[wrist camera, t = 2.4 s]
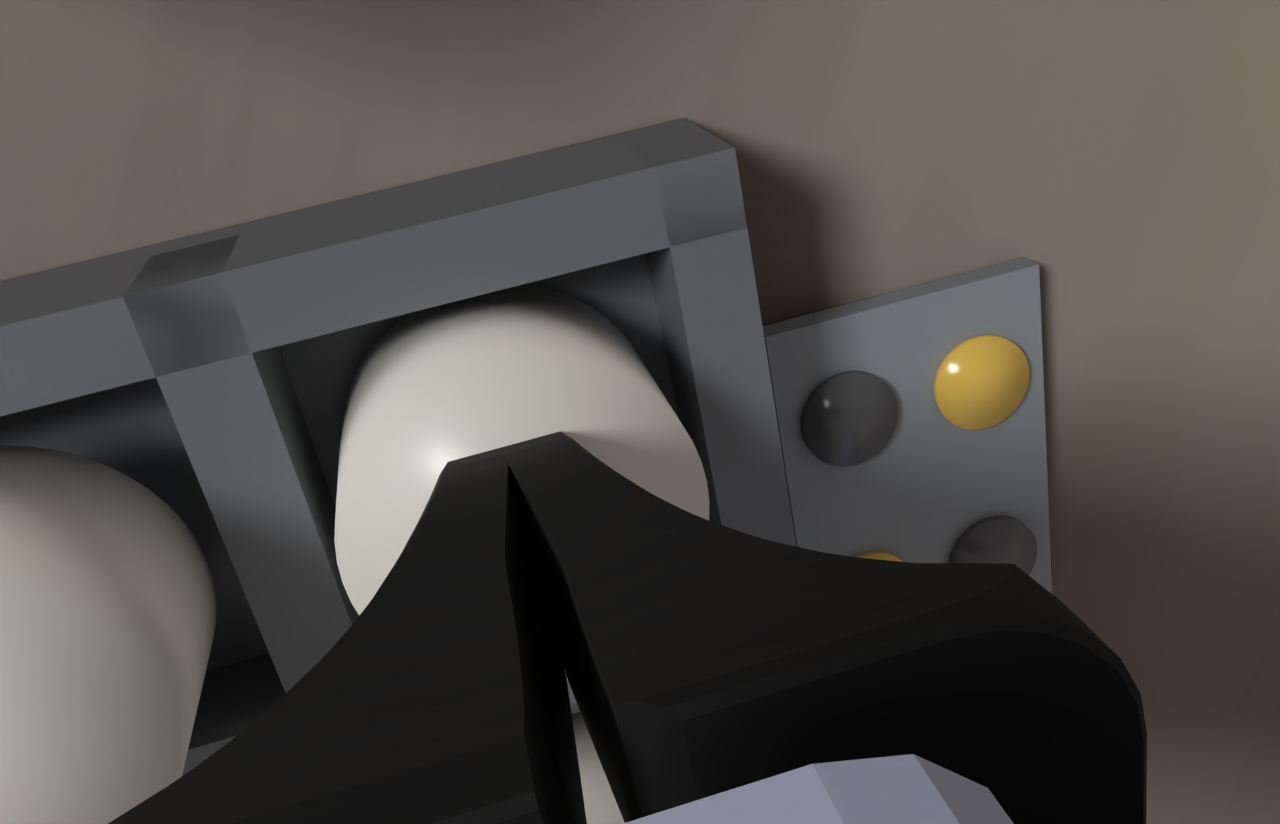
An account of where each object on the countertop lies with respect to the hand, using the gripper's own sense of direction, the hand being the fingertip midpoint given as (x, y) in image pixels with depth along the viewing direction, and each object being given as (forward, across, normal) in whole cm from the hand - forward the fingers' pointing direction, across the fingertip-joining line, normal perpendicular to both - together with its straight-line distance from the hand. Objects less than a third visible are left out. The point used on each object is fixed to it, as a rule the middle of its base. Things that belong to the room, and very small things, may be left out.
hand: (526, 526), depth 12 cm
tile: (+3, -6, +3) cm, 7 cm away
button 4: (+1, +6, 0) cm, 6 cm away
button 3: (+3, 0, 0) cm, 3 cm away
